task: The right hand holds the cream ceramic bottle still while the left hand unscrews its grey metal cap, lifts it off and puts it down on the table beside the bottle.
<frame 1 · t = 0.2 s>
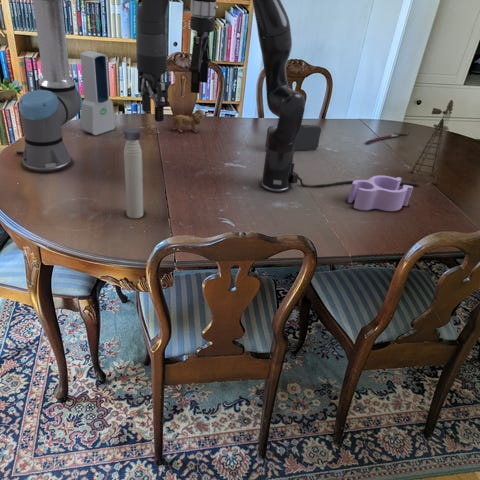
left hand: (199, 87, 153), 29 cm above the table, tool pointing down, fingers open, 13 cm apart
right hand: (152, 115, 124), 29 cm above the table, tool pointing down, fingers open, 8 cm apart
handheld gaming console: (291, 150, 191), on the table
miniature windmill: (422, 178, 179), on the table
bottle: (135, 214, 137), on the table
sword: (387, 139, 213), on the table
electronic device: (98, 130, 190), on the table
clip: (376, 203, 158), on the table
cap: (132, 131, 123), point 25 cm above the table, screwed on, not yet turned
lion figurine: (187, 130, 199), on the table
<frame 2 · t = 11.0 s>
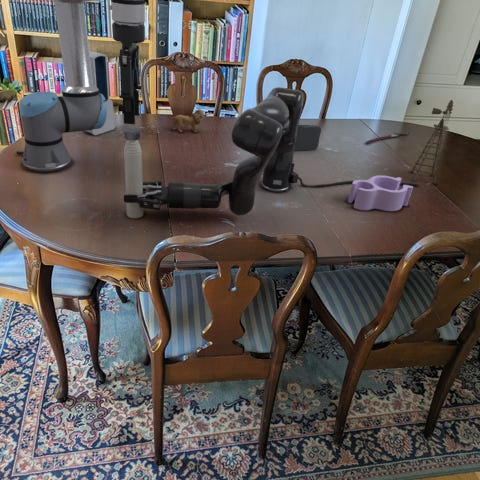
left hand: (131, 118, 122), 29 cm above the table, tool pointing down, fingers open, 6 cm apart
right hand: (125, 194, 133), 7 cm above the table, tool horizontal, fingers closed on bottle, 5 cm apart
bottle: (135, 214, 137), on the table, touching right hand
everything else where it was.
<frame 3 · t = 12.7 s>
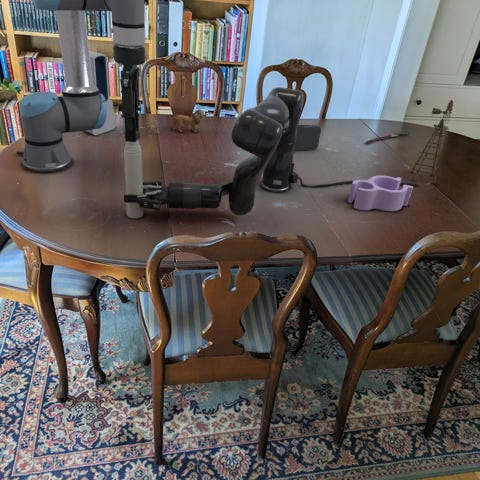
left hand: (132, 138, 124), 23 cm above the table, tool pointing down, fingers closed on cap, 4 cm apart
right hand: (125, 194, 133), 7 cm above the table, tool horizontal, fingers closed on bottle, 5 cm apart
bottle: (135, 214, 137), on the table, touching right hand
cap: (132, 131, 123), point 25 cm above the table, screwed on, not yet turned, touching left hand
everything else where it was.
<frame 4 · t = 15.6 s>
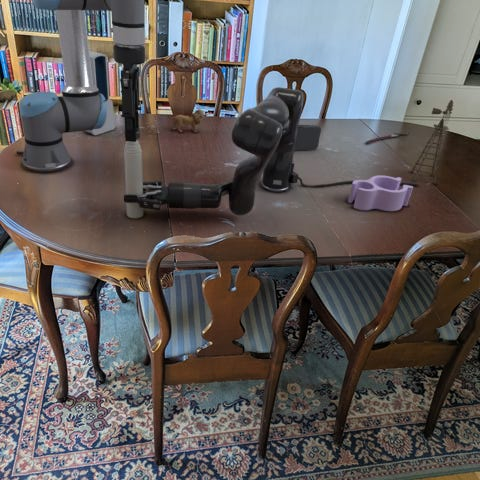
left hand: (132, 137, 124), 24 cm above the table, tool pointing down, fingers closed on cap, 4 cm apart
right hand: (125, 194, 133), 7 cm above the table, tool horizontal, fingers closed on bottle, 5 cm apart
bottle: (135, 214, 137), on the table, touching right hand
cap: (132, 130, 123), point 26 cm above the table, turned 79° so far, risen 0.1 cm, still on its thread, touching left hand
everything else where it was.
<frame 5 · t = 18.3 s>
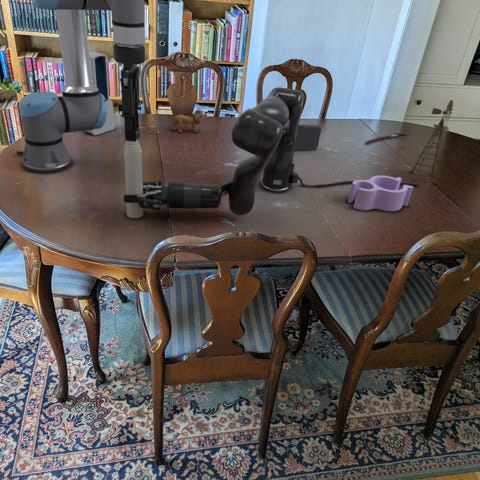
left hand: (132, 137, 124), 24 cm above the table, tool pointing down, fingers closed on cap, 4 cm apart
right hand: (125, 194, 133), 7 cm above the table, tool horizontal, fingers closed on bottle, 5 cm apart
bottle: (135, 214, 137), on the table, touching right hand
cap: (132, 130, 123), point 26 cm above the table, turned 158° so far, risen 0.2 cm, still on its thread, touching left hand
everything else where it was.
when the left hand's fingers open (1 cm above the table, at t = 33.7 s): cap drops 1 cm, point 2 cm above the table.
when the right hand's fingers open (7 cm above the table, at t = 35.0 s): bottle stays where it is, on the table.
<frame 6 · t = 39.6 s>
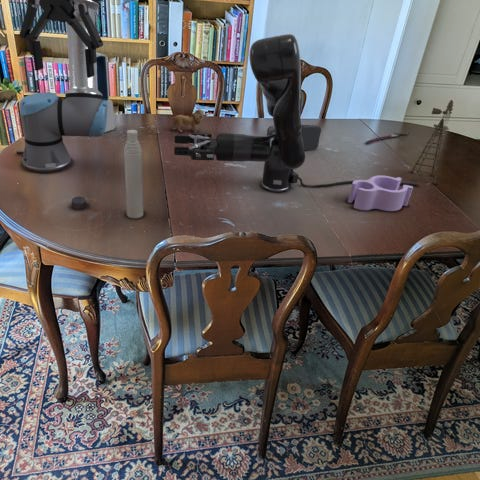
left hand: (65, 73, 117), 38 cm above the table, tool pointing down, fingers open, 13 cm apart
right hand: (174, 144, 126), 22 cm above the table, tool horizontal, fingers open, 8 cm apart
bottle: (135, 214, 137), on the table
cap: (78, 200, 137), point 2 cm above the table, off its thread
everything else where it was.
at the end: cap came off its thread; cap point 1.9 cm above the table; the left hand is holding nothing; the right hand is holding nothing; bottle tilted 0°; bottle moved 0.0 cm from its start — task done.
